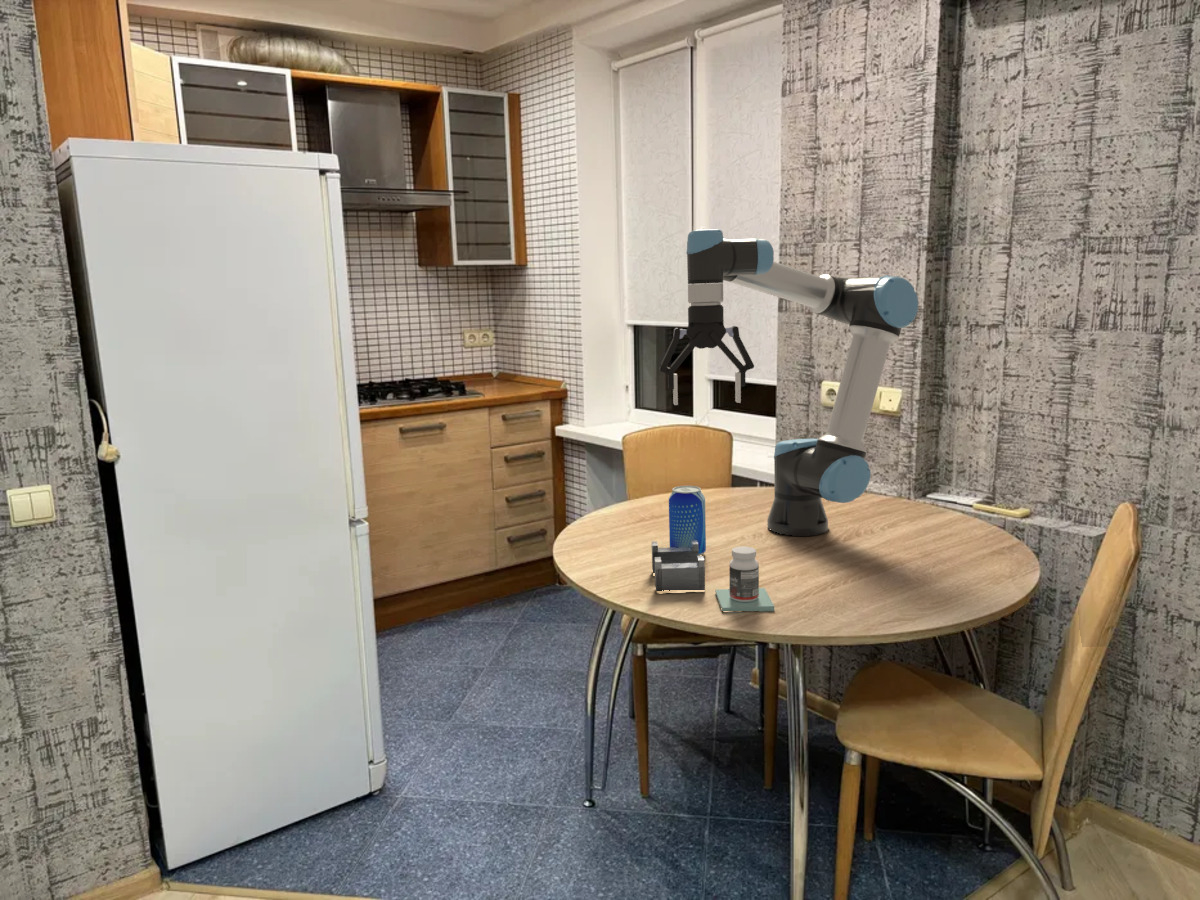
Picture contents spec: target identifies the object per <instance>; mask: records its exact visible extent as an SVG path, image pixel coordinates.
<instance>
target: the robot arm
mask: <svg viewBox="0 0 1200 900" xmlns="http://www.w3.org/2000/svg"><path fill="white" fill-rule="evenodd" d="M723 233H724V232H723V230H721V229H714V228H713V229H712V228H711V229H710V228H709V229H695V230H691V231H690V232H689V233H688V235H687V241H686V259H687V261H686V262H687V263H686V264H687V266H686V267H687V270H686V271H687V303H689V304H690V305H689V306H688V307H687V320H688V321H687V323H688V325H687V328H686V329H683V328H678V327H675V328H674V329H673V333H672V334H673V336H672V339H671V342H670V343H669V346H668V348H667V350H666V352H665V354H664V357H663V359H662V361H661V363H660V365H659V369H658V370H659V371H660V372H661V373H664V374H667V387H668V390H672V394H673V395H672V396H673V397H672V398H673V399H672V401H673V402H672V403H673V405H674V406H679V398H678V397H679V395H678V394H679V393H678V387H679V386H678V373H675V372H676V371H677V370H678V369H679V367H680V366H681V365H682V364H683V362H684V361H685V360H686V359H687V358H688V357H689V355H690V353H691V352H693V350H694V349H695V348H697V349H702V350H703V349H706V348H709V349H714V348H716V347H718V348H719V349H720V350H721V351H722V353H723V354H724V355H725V356H726V357H727V358H728V359H729V360H730V362H731V363H732V364H733V365H734V366H735V368H736V369H737V370H738V371H734V373H735V375H734V378H735V381H734V383H735V384H734V391H735V392H734V393H735V394H734V398H735V400H734V401H735V402H736V403H739V404H741V401H742V399H741V397H742V395H741V394H742V391H741V389H742V387H743V388H744V387H745V386H746V383H747V381H746V373H747V371H749V370H752V369H754V368H755V365H754V363H753V360H752V358H751V356H750V354H749V352H748V350H747V349H746V346H745V344H744V342H743V341H742V338H741V336H740V330H739V327H738V326H736V325H733V326H729V327H725V325H724V323H725V322H724V306H723V304H721V303H723V302H724V281H725V282H730V283H733V284H735V285H738V286H741V287H744V288H745V287H746V288H747V289H748V288H749V289H751V290H754V291H758V292H761V293H764V294H766V295H771V296H774V297H776V298H780V299H783V300H786V301H790V302H792V303H796V304H799V305H803V306H805V307H808V308H809V311H810V312H811V313H813V314H817V315H821V316H824V317H826V318H829V319H832V320H834V321H837V322H840V323H843V324H846V325H848V329H849V331H850V333H851V336H852V339H851V342H850V346H849V350H848V354H847V358H846V360H845V361H846V362H845V365H844V367H843V371H842V375H841V379H840V382H839V386H838V391H837V394H836V397H835V400H834V404H833V408H832V410H831V414H830V419H829V422H828V426H827V429H826V432H825V433H824V434H823V435H822V436H820V437H818V438H798V439H797V438H796V439H795V438H794V439H788V440H780V441H779V442H777V443H776V444H775V445H774V453H773V459H774V464H773V465H774V466H773V467H774V471H773V472H774V473H773V474H774V476H773V477H774V478H773V479H774V480H773V481H774V484H773V485H774V486H773V487H774V497H773V498H774V499H773V502H772V506H771V507H770V511H769V513H768V517H767V523H766V525H767V526H768V527H767V529H768V528H769V529H771V530H772V531H774V532H773V533H775V532H777V533H776V534H778V533H781V534H780V535H782V534H785V536H789V535H792V537H793V536H794V537H810V536H811V537H812V536H818V535H823V534H824V533H826V532H827V531H829V520H828V517H827V516H828V515H827V514H826V510H825V507H824V504H823V502H822V500H826V501H829V502H833V503H839V504H840V503H841V504H846V503H851V502H854V500H856V499H857V498H860V497H861V496H862V494H864V492H865V491H866V490H867V488H868V486H869V483H870V481H871V475H872V473H871V469H870V468H869V467H870V466H869V465H870V464H868V461H866V459H865V458H866V455H867V452H868V451H867V449H866V448H865V445H864V442H863V441H864V438H865V436H866V435H865V434H866V430H867V428H868V427H867V426H868V423H869V420H870V417H871V413H872V410H873V406H874V402H875V398H876V395H877V392H878V388H879V385H880V381H881V378H882V373H883V370H884V368H885V367H884V366H885V364H886V359H887V356H888V352H889V350H890V346H891V344H893V343H895V342H896V341H898V340H899V338H900V334H901V332H902V329H903V328H906V327H907V326H909V325H910V324H911V323H913V321H914V320H915V319H916V317H917V315H918V311H919V298H918V295H917V292H916V291H915V287H914V286H913V284H912V283H911V282H910V281H909V280H907V279H906V278H904V277H902V276H892V275H888V274H887V275H883V276H865V277H837V276H832V275H830V274H821V275H820V276H818V275H815V274H812V273H810V272H806V271H804V270H801V269H797V268H795V267H791V266H790V265H789V266H788V265H785V264H782V263H779V262H776V261H775V257H774V255H775V253H774V252H775V251H774V248H773V245H772V244H771V242H770V241H769V240H767V239H764V238H763V239H762V238H756V237H755V238H743V239H741V238H740V239H727V238H725V237H724V234H723ZM726 334H727V335H728V337H731V338H732V340H733V342H734V344H735V346H736V348H737V350H738V351H739V354H740V356H741V357H742V360H743V361H744V363H745V364H743V363H742V362H741V361H740V360H739V359H738V357H736V355H735V354H734V353H733V352H732V351H731V349H730V348H729V346H727V344H726V343H725V342H724V341H723V338H724V336H725V335H726ZM685 335H686V337H688V339H689V340H690V341H689V342H688V344H687V345H686V346H685V347H684V349H683V350H682V351H681V353H680V354H679V355H678V356H677V358H676V359H675V360H674V361H673V362H672V363H671V365H670V366H669V367H668V365H669V363H670V361H671V360H672V357H673V355H674V353H675V351H676V348H677V347H678V345H679V341H680V340H681V339H683V338H684V336H685ZM769 529H768V530H769ZM772 531H771V532H772Z"/></svg>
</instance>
